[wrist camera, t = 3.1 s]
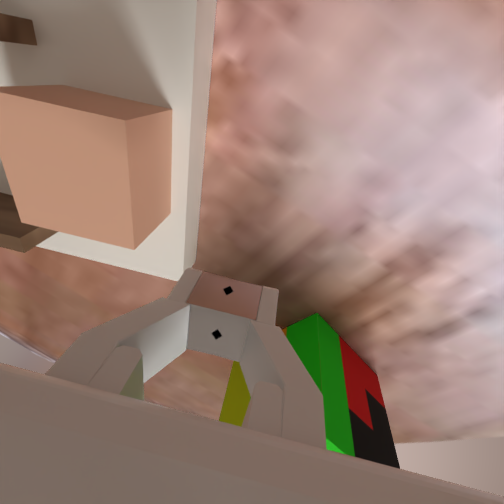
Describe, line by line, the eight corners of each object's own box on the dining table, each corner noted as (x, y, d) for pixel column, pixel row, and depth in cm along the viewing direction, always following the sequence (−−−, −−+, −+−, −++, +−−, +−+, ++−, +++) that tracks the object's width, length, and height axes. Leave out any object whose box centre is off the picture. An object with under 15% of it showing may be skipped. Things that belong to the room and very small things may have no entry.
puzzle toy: (295, 401, 32) (292, 516, 23) (236, 351, 29) (208, 463, 20) (377, 374, 27) (409, 506, 19) (317, 312, 24) (324, 436, 16)
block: (62, 84, 14) (-23, 87, 11) (172, 109, 14) (125, 120, 11) (81, 191, 18) (21, 222, 14) (170, 213, 18) (134, 249, 14)
